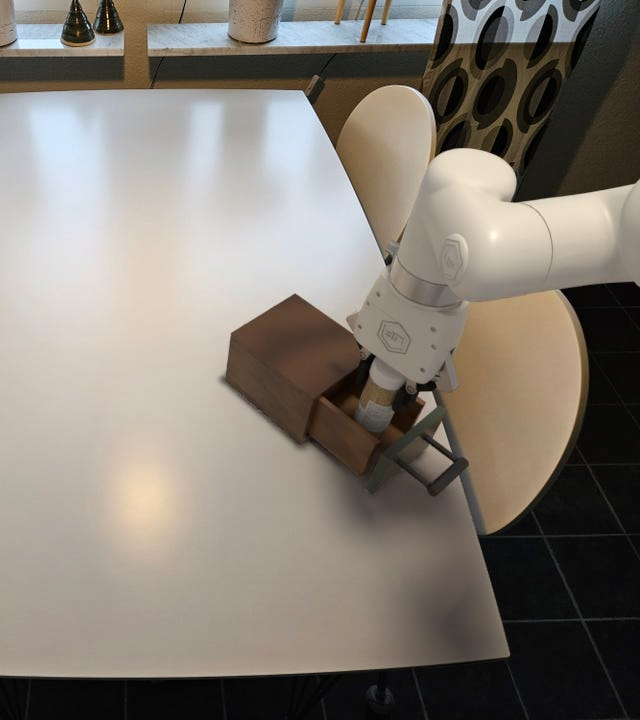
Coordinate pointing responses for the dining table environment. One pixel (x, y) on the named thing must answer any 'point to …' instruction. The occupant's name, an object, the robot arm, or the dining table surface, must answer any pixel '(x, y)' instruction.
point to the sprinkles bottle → (378, 398)
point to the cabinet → (290, 362)
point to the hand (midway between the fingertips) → (383, 391)
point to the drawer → (362, 448)
